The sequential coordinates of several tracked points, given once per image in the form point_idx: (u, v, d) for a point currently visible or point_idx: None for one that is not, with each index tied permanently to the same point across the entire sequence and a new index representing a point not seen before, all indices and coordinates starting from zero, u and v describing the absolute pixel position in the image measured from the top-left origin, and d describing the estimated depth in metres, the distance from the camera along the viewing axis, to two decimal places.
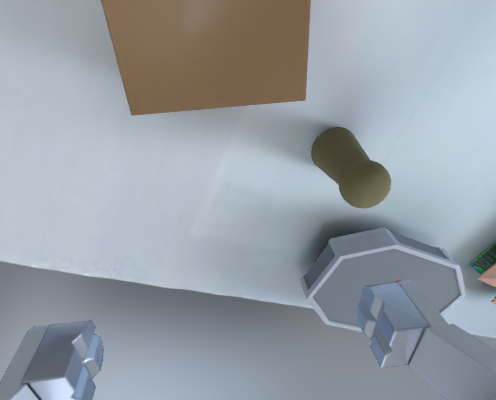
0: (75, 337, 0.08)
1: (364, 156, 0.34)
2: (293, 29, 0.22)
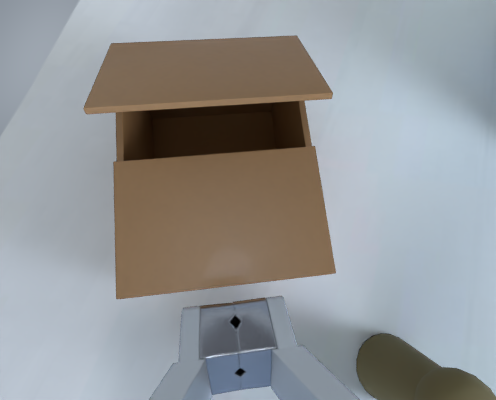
0: (231, 317, 0.08)
1: (436, 365, 0.23)
2: (307, 198, 0.21)
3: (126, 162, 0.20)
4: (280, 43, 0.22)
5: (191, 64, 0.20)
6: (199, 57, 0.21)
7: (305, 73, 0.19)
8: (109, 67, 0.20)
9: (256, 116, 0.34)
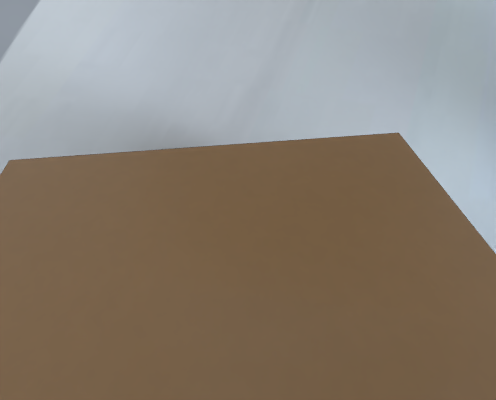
0: None
1: None
2: None
3: None
4: (374, 159, 0.10)
5: (182, 245, 0.08)
6: (202, 212, 0.09)
7: (483, 288, 0.07)
8: None
9: None
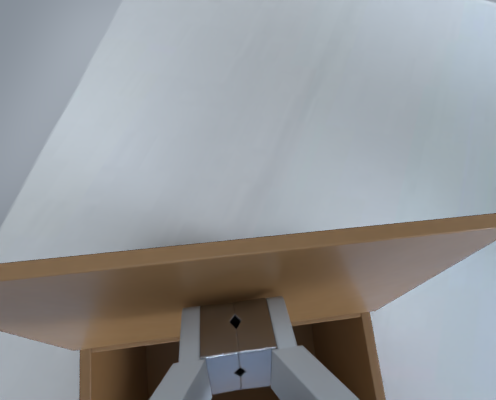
0: (231, 317, 0.08)
1: None
2: None
3: None
4: None
5: None
6: None
7: None
8: None
9: None
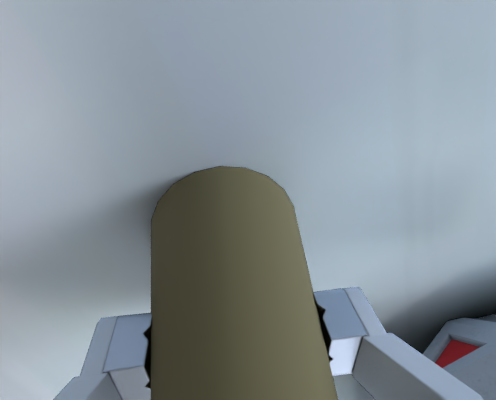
0: (146, 327, 0.08)
1: (216, 356, 0.06)
2: None
3: None
4: None
5: None
6: None
7: None
8: None
9: None
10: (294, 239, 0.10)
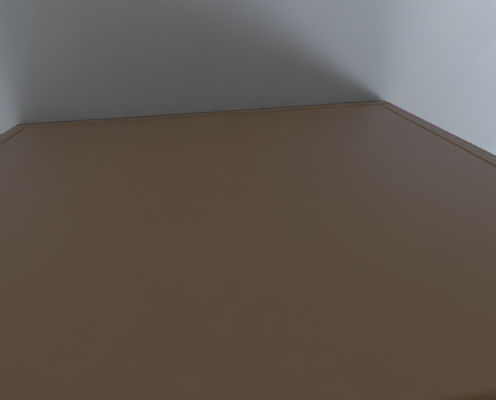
0: None
1: None
2: None
3: None
4: None
5: None
6: None
7: None
8: None
9: None
10: None
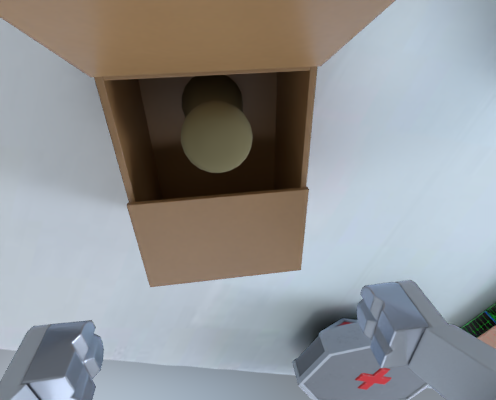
0: (75, 337, 0.08)
1: (206, 99, 0.23)
2: (292, 228, 0.26)
3: (138, 205, 0.23)
4: None
5: None
6: None
7: None
8: None
9: None
10: (236, 92, 0.27)
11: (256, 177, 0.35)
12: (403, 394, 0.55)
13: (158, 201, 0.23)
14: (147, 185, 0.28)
